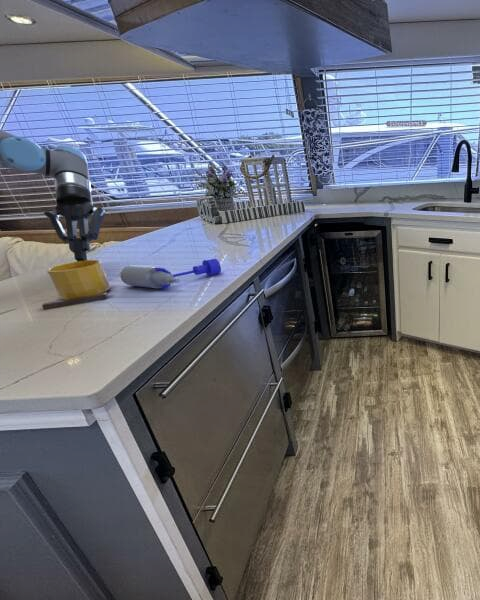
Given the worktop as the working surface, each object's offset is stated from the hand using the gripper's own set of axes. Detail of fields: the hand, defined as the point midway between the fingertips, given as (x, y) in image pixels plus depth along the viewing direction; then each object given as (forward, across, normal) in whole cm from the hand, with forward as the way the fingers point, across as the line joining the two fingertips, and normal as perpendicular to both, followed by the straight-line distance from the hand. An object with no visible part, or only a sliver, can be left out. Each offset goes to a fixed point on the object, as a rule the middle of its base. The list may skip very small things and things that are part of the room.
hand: (81, 260), depth 87 cm
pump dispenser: (+12, -21, 0) cm, 24 cm away
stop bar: (+14, 0, +3) cm, 15 cm away
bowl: (+10, 0, -2) cm, 10 cm away
